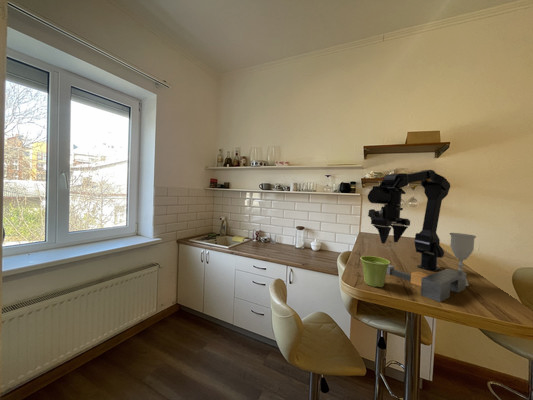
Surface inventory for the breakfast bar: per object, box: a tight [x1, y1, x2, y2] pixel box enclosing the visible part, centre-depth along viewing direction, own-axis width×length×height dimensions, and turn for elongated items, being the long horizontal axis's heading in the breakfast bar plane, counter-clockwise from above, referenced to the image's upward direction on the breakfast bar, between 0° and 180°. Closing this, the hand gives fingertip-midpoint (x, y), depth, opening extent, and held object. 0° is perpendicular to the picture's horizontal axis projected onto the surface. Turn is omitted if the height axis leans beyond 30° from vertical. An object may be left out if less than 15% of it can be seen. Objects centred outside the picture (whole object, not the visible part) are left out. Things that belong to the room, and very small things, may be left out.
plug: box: [386, 264, 429, 287], centre depth 79 cm, size 16×4×4 cm, turn 30°
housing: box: [420, 268, 467, 303], centre depth 69 cm, size 20×5×6 cm, turn 120°
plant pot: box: [360, 255, 391, 288], centre depth 73 cm, size 9×9×9 cm
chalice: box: [449, 232, 477, 287], centre depth 77 cm, size 7×7×18 cm
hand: (389, 242), depth 85 cm, fingers open, 9 cm apart
